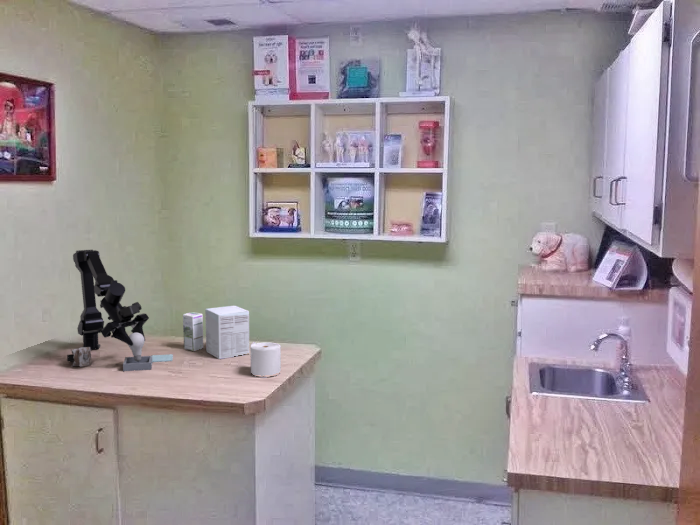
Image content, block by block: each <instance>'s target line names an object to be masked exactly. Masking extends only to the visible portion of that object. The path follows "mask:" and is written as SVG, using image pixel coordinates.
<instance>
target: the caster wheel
mask: <svg viewBox="0 0 700 525" xmlns="http://www.w3.org/2000/svg"><path fill="white" fill-rule="evenodd" d="M70 351H71V354H67V355H66V361H67V362H71V367H78V366H79V367H88V366H92V353H91V351H92V350H90V347H84V348H82V347H78V348H72V349H71V348H70ZM72 364H73V365H72Z"/></svg>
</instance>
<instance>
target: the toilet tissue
mask: <svg viewBox="0 0 700 525" xmlns="http://www.w3.org/2000/svg"><path fill="white" fill-rule="evenodd" d="M281 348H282V346H281V345H280V344H279V343H277V342H269V341H267V342H257V343H256V341H253V342H252V343H251V344H250V345H249V356H250V374H251V373H252V374H253V375H261V376H263V375H264V376H265V375H273V374H276V373H279V372H280V371H281V372H282V370H281V368H282V367H281V365H282V364H281V359H282V358H281V351H282V350H281ZM253 375H252V376H253Z"/></svg>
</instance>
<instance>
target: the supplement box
mask: <svg viewBox="0 0 700 525" xmlns="http://www.w3.org/2000/svg"><path fill="white" fill-rule="evenodd" d="M205 341H206V342H205V346H206V350H205V351H206V353H208V354H210V355H211V356H214V357H215V358H216V359H218V360H221V359H229V358H235V357H234V356H236V357H239V356H238V355H242V356H244V355H243V354H247V353H249V354H250V311H249V310H248V309H244V308H242V307H240V306H238V305H227V306H219V307H217V306H216V307H210V308H205Z"/></svg>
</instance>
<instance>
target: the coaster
mask: <svg viewBox="0 0 700 525" xmlns="http://www.w3.org/2000/svg"><path fill="white" fill-rule="evenodd" d="M150 356H152V363H159V362H173V360H174V359H173V357H174V354H170V353H169V354H154V355H150Z"/></svg>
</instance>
